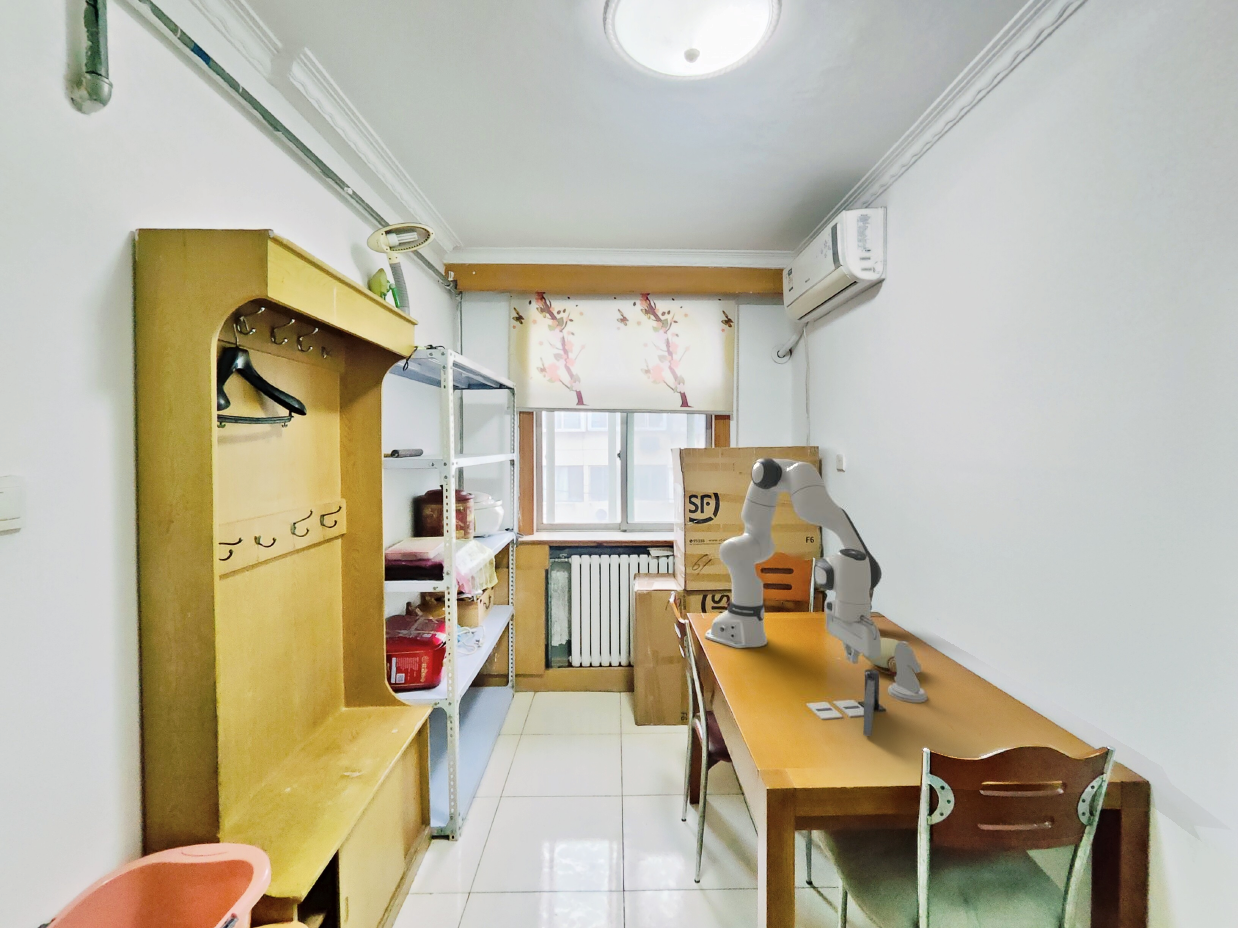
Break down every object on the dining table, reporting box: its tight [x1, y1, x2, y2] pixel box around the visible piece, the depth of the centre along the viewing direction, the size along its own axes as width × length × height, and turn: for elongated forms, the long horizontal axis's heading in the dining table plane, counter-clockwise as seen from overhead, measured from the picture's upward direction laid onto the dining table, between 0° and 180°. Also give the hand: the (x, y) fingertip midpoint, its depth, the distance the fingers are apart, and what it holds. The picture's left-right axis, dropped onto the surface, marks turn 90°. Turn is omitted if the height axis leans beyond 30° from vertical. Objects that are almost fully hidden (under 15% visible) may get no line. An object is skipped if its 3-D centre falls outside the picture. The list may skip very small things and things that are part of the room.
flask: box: [861, 637, 901, 676], centre depth 170 cm, size 9×16×18 cm
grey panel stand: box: [863, 669, 880, 737], centre depth 139 cm, size 20×4×9 cm, turn 152°
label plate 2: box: [832, 699, 864, 718], centre depth 146 cm, size 6×8×1 cm
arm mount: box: [857, 700, 887, 713], centre depth 147 cm, size 5×5×1 cm
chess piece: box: [887, 640, 928, 703], centre depth 154 cm, size 10×10×15 cm
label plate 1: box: [805, 701, 844, 720], centre depth 144 cm, size 6×8×1 cm
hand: (851, 661), depth 145 cm, fingers closed
